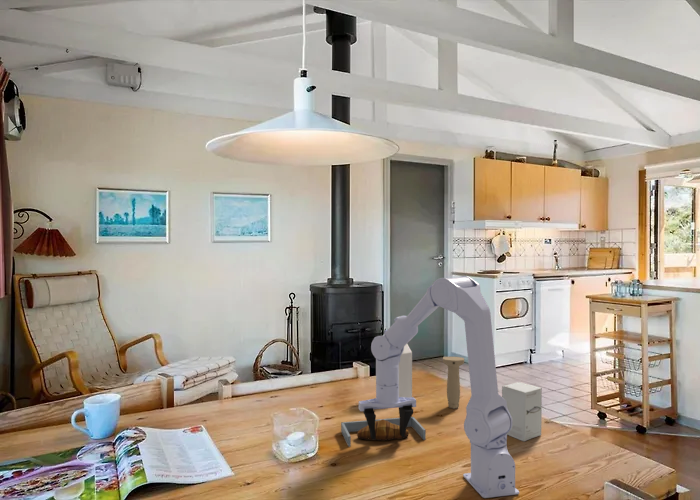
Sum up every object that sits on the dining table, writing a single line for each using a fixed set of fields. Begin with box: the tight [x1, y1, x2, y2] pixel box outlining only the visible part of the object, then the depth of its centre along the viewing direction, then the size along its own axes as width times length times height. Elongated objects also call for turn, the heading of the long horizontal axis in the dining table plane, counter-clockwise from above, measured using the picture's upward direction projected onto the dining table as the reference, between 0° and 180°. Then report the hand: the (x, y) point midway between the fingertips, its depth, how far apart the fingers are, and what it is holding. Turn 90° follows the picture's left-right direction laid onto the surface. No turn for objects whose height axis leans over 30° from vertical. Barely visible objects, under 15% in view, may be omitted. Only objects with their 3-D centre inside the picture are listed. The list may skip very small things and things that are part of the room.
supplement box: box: [501, 381, 543, 442], centre depth 126 cm, size 7×7×13 cm
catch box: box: [340, 416, 427, 447], centre depth 125 cm, size 10×20×2 cm, turn 102°
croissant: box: [356, 420, 410, 442], centre depth 124 cm, size 14×7×5 cm, turn 94°
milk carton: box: [399, 343, 413, 397], centre depth 156 cm, size 7×7×19 cm
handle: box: [442, 356, 465, 409], centre depth 147 cm, size 5×6×15 cm
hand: (387, 436), depth 121 cm, fingers open, 7 cm apart
